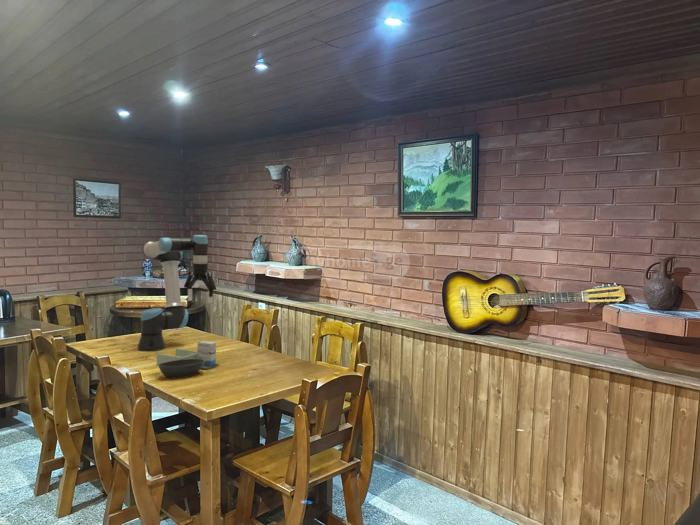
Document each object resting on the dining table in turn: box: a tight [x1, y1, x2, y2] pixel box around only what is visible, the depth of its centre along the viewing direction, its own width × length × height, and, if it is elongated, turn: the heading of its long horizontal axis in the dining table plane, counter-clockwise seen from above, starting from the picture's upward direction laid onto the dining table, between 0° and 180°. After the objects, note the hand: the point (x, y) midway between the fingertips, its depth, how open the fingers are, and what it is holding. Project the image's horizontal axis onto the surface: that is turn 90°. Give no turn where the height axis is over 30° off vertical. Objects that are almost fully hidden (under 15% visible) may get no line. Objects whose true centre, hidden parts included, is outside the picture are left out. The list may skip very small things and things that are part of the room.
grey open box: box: [156, 348, 198, 366], centre depth 262 cm, size 17×14×6 cm
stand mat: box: [200, 363, 220, 371], centre depth 259 cm, size 10×10×1 cm
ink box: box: [197, 340, 217, 366], centre depth 261 cm, size 8×5×12 cm, turn 69°
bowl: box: [157, 359, 204, 379], centre depth 243 cm, size 12×22×6 cm, turn 128°
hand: (199, 301), depth 273 cm, fingers open, 13 cm apart
